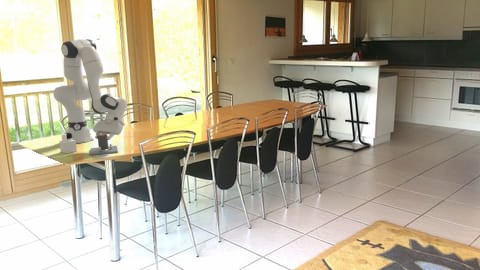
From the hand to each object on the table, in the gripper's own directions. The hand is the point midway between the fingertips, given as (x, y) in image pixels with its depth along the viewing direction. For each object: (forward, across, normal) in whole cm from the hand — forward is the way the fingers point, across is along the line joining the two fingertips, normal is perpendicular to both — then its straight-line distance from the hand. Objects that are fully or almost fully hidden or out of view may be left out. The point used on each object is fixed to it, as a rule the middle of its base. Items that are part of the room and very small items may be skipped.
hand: (102, 139), depth 263 cm
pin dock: (+5, 0, +6) cm, 8 cm away
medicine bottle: (+12, -20, 0) cm, 24 cm away
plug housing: (+4, 0, +5) cm, 7 cm away
